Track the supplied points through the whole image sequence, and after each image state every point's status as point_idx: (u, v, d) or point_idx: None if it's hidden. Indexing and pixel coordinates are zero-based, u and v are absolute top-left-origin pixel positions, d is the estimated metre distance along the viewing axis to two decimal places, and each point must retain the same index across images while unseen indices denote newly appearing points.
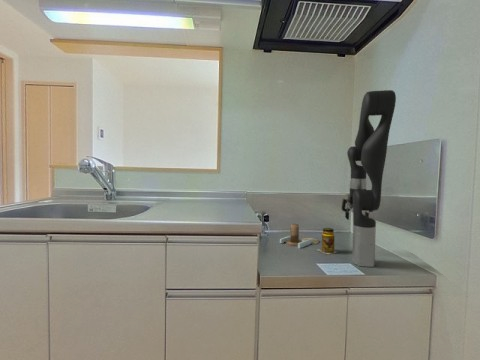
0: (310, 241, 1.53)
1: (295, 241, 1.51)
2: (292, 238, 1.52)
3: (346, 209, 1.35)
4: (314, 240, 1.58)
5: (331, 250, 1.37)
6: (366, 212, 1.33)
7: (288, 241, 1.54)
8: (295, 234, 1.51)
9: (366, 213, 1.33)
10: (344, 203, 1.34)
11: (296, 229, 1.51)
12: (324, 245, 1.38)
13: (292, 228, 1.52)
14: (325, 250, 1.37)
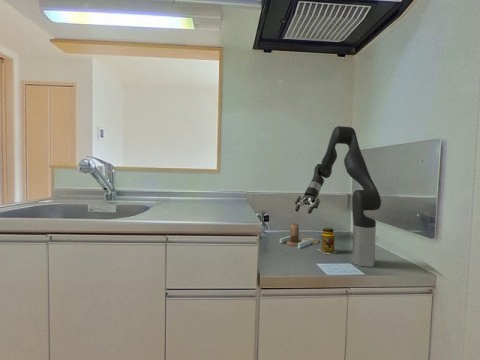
0: (310, 241, 1.53)
1: (295, 241, 1.51)
2: (292, 238, 1.52)
3: (298, 203, 1.64)
4: (314, 240, 1.58)
5: (331, 250, 1.37)
6: None
7: (288, 241, 1.54)
8: (295, 234, 1.51)
9: None
10: (298, 198, 1.66)
11: (296, 229, 1.51)
12: (324, 245, 1.38)
13: (292, 228, 1.52)
14: (325, 250, 1.37)
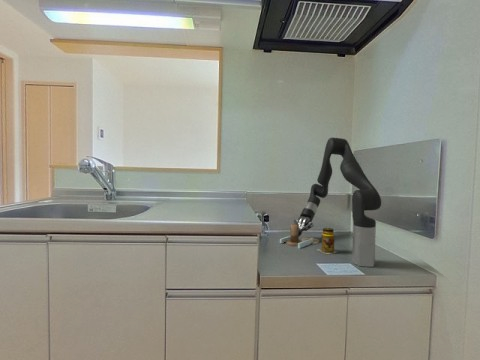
0: (310, 241, 1.53)
1: (295, 241, 1.51)
2: (292, 238, 1.52)
3: None
4: (314, 240, 1.58)
5: (331, 250, 1.37)
6: (300, 229, 1.56)
7: (288, 241, 1.54)
8: (295, 234, 1.51)
9: (299, 229, 1.56)
10: (295, 222, 1.61)
11: (296, 229, 1.51)
12: (323, 245, 1.38)
13: (292, 228, 1.51)
14: (325, 250, 1.37)
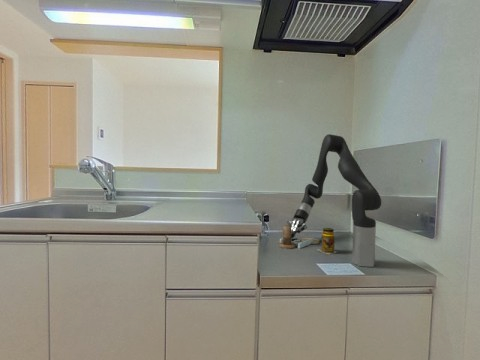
0: (310, 241, 1.53)
1: (288, 243, 1.47)
2: (285, 240, 1.47)
3: None
4: (314, 240, 1.58)
5: (331, 250, 1.37)
6: (293, 230, 1.52)
7: (280, 243, 1.50)
8: (288, 236, 1.47)
9: (292, 231, 1.52)
10: (288, 223, 1.57)
11: (289, 231, 1.47)
12: (324, 245, 1.38)
13: (285, 230, 1.47)
14: (325, 250, 1.37)
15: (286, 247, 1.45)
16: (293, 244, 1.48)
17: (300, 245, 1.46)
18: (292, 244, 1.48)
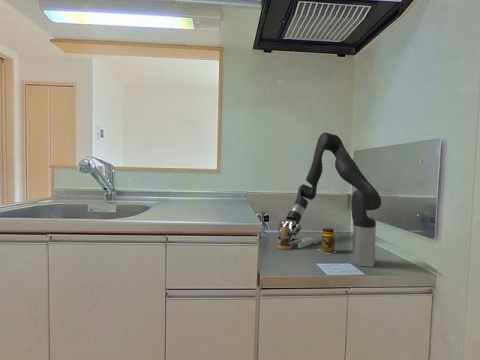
0: (310, 241, 1.53)
1: (285, 245, 1.45)
2: (282, 241, 1.45)
3: None
4: (314, 240, 1.58)
5: (331, 250, 1.37)
6: (289, 233, 1.45)
7: (278, 245, 1.47)
8: (285, 237, 1.45)
9: (288, 233, 1.45)
10: (279, 224, 1.53)
11: (286, 232, 1.45)
12: (324, 245, 1.38)
13: (282, 231, 1.45)
14: (325, 250, 1.37)
15: (283, 248, 1.43)
16: (290, 245, 1.46)
17: (300, 245, 1.46)
18: (289, 245, 1.46)
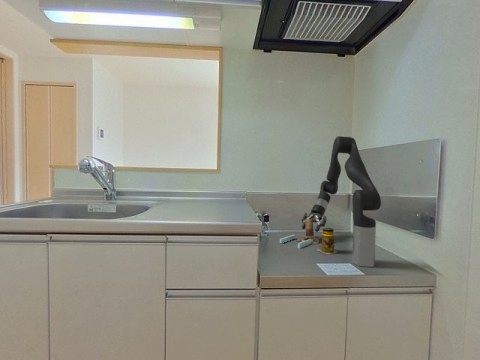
0: (310, 241, 1.53)
1: (311, 234, 1.56)
2: (308, 231, 1.57)
3: (304, 220, 1.63)
4: (314, 240, 1.58)
5: (331, 250, 1.37)
6: (318, 224, 1.56)
7: None
8: (311, 227, 1.57)
9: None
10: (304, 215, 1.65)
11: (311, 222, 1.58)
12: (324, 245, 1.38)
13: (307, 222, 1.59)
14: (325, 250, 1.37)
15: (310, 237, 1.54)
16: None
17: (300, 245, 1.46)
18: (314, 236, 1.58)
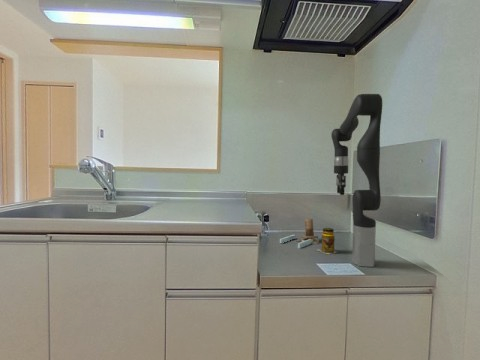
0: (310, 241, 1.53)
1: (311, 234, 1.56)
2: (308, 232, 1.57)
3: (337, 184, 1.57)
4: (314, 240, 1.58)
5: (331, 250, 1.37)
6: None
7: (303, 236, 1.59)
8: (311, 227, 1.57)
9: (339, 188, 1.48)
10: (336, 178, 1.58)
11: (311, 222, 1.58)
12: (324, 245, 1.38)
13: (307, 222, 1.59)
14: (325, 250, 1.37)
15: (310, 237, 1.54)
16: None
17: (300, 245, 1.46)
18: (314, 236, 1.58)
